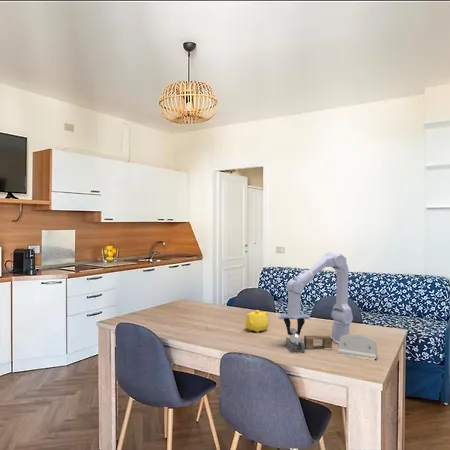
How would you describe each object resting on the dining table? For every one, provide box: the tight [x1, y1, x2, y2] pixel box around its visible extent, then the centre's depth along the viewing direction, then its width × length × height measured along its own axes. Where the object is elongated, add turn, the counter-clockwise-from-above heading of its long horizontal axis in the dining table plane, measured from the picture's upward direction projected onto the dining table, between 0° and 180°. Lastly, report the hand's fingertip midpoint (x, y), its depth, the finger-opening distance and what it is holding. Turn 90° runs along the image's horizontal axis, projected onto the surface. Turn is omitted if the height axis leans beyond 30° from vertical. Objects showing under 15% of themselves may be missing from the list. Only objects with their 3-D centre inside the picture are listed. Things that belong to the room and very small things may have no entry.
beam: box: [303, 335, 333, 350], centre depth 179 cm, size 4×12×5 cm, turn 93°
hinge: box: [336, 333, 378, 360], centre depth 170 cm, size 17×5×10 cm, turn 63°
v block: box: [285, 337, 306, 353], centre depth 178 cm, size 12×6×3 cm, turn 3°
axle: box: [289, 327, 303, 346], centre depth 178 cm, size 10×4×4 cm, turn 3°
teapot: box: [245, 309, 270, 334], centre depth 207 cm, size 18×11×11 cm, turn 135°
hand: (293, 334), depth 181 cm, fingers closed on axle, 4 cm apart
